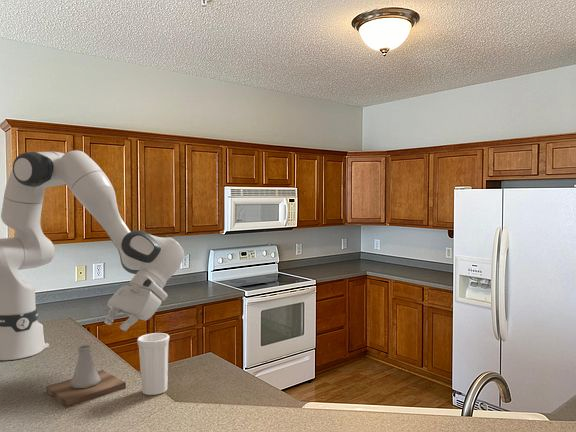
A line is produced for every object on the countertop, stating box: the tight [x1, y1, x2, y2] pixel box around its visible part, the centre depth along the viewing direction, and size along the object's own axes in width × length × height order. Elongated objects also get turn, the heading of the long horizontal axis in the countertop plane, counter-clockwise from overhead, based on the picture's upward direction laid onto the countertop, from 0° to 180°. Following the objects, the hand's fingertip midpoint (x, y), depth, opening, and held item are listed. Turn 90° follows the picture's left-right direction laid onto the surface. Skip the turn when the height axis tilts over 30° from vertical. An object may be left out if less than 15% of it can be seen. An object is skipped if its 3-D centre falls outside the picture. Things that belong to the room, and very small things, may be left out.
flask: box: [70, 344, 101, 388], centre depth 118 cm, size 7×7×10 cm
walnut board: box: [46, 369, 127, 408], centre depth 118 cm, size 14×15×2 cm
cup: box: [136, 332, 170, 396], centre depth 116 cm, size 8×8×14 cm
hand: (114, 326), depth 123 cm, fingers open, 8 cm apart
